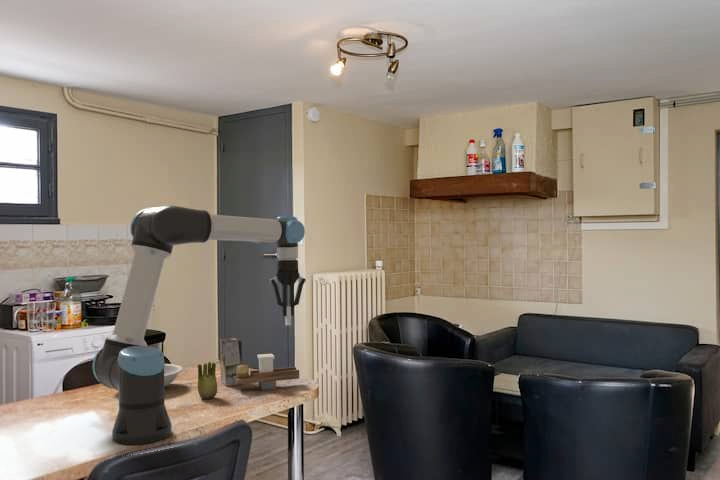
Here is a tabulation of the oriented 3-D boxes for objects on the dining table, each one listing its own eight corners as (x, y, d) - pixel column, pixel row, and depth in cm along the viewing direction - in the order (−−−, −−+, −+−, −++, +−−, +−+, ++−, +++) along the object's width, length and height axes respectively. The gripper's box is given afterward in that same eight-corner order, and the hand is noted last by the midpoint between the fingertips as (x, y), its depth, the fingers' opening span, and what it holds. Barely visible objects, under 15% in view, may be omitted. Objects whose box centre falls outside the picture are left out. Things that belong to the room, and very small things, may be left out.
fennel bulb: (196, 400, 197) (196, 363, 197) (202, 396, 202) (201, 360, 202) (214, 400, 197) (213, 363, 197) (218, 396, 202) (218, 360, 202)
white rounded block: (274, 376, 210) (274, 356, 210) (260, 377, 208) (259, 357, 208) (271, 372, 215) (271, 353, 215) (257, 374, 214) (257, 354, 214)
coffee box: (242, 384, 218) (242, 340, 218) (225, 386, 215) (224, 342, 215) (237, 379, 226) (236, 336, 226) (220, 381, 223) (219, 338, 223)
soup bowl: (191, 380, 225) (191, 363, 225) (170, 397, 201) (169, 378, 201) (128, 381, 225) (128, 363, 225) (99, 398, 201) (99, 378, 201)
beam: (299, 387, 212) (299, 363, 212) (237, 393, 205) (236, 368, 205) (295, 383, 219) (295, 359, 219) (234, 388, 212) (234, 364, 212)
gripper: (302, 258, 220) (303, 322, 220) (267, 259, 216) (268, 324, 216) (307, 259, 213) (308, 325, 213) (271, 260, 209) (272, 327, 209)
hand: (288, 324), depth 214 cm, fingers closed
